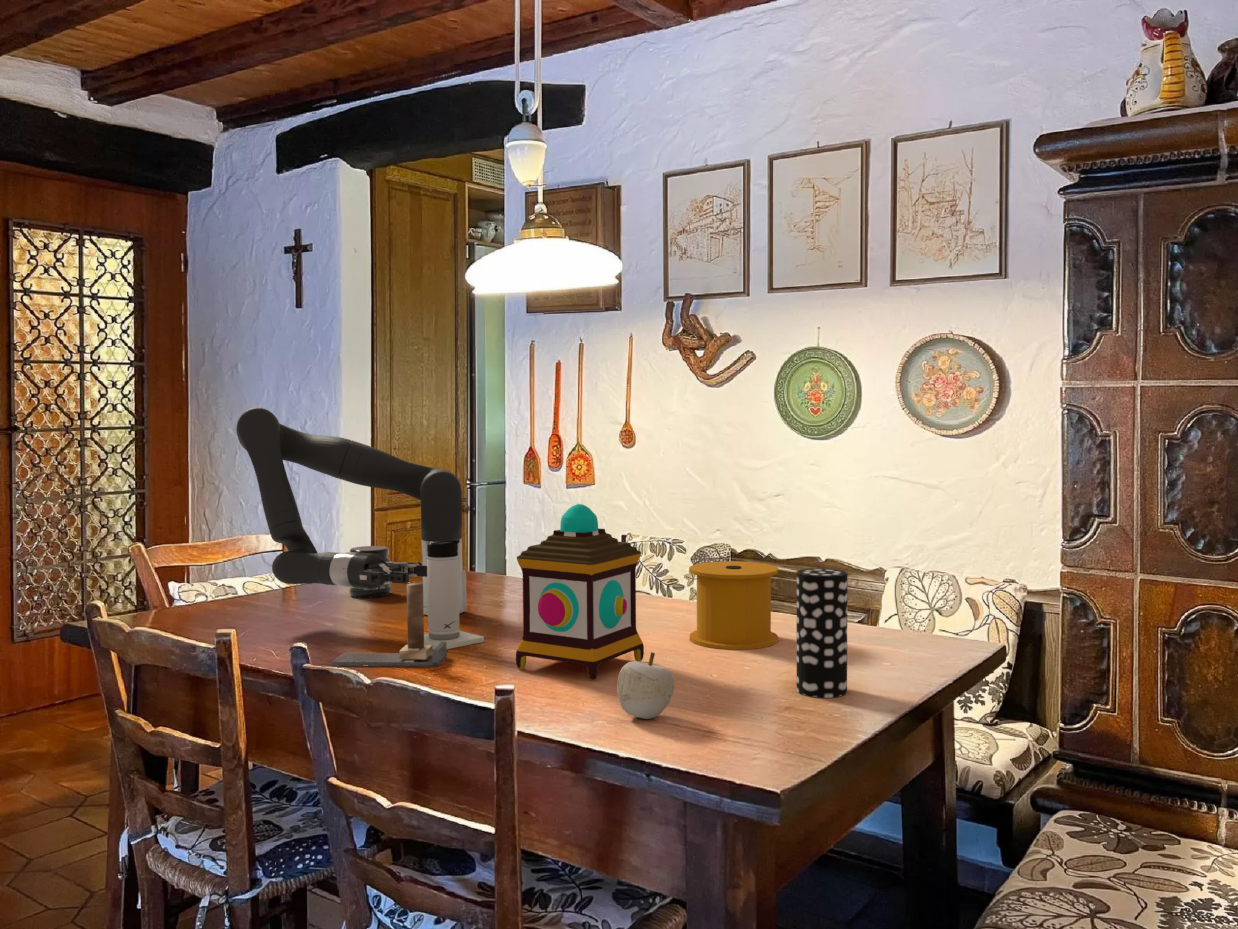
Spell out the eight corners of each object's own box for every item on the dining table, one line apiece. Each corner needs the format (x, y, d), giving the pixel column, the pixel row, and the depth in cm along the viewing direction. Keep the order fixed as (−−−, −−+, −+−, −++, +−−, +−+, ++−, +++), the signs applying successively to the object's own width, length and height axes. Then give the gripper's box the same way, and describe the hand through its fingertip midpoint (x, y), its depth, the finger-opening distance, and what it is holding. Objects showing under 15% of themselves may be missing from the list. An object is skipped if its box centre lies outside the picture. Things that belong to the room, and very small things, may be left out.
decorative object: (608, 722, 159) (608, 657, 158) (628, 707, 167) (628, 645, 167) (664, 728, 156) (663, 662, 155) (681, 712, 164) (681, 649, 163)
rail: (331, 666, 195) (331, 650, 195) (343, 656, 202) (343, 641, 202) (438, 666, 194) (438, 650, 193) (446, 657, 201) (446, 642, 200)
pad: (451, 633, 222) (451, 628, 222) (483, 641, 214) (483, 636, 214) (407, 642, 214) (407, 637, 214) (439, 650, 206) (439, 645, 206)
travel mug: (454, 641, 210) (453, 541, 209) (423, 639, 211) (421, 541, 210) (465, 634, 216) (464, 537, 215) (435, 633, 218) (433, 537, 216)
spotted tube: (791, 685, 179) (791, 568, 178) (838, 683, 180) (839, 567, 179) (803, 698, 171) (803, 576, 170) (853, 697, 172) (854, 575, 171)
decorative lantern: (595, 685, 180) (594, 511, 179) (504, 670, 191) (502, 506, 189) (654, 660, 197) (653, 501, 195) (567, 648, 208) (565, 497, 206)
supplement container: (358, 591, 274) (357, 545, 273) (397, 591, 272) (396, 545, 271) (342, 598, 263) (341, 550, 262) (382, 599, 262) (381, 551, 261)
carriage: (399, 659, 195) (398, 586, 194) (406, 652, 200) (405, 582, 199) (426, 659, 195) (424, 586, 194) (432, 653, 200) (431, 582, 199)
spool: (678, 646, 209) (678, 571, 208) (702, 627, 226) (702, 558, 225) (767, 652, 203) (767, 575, 202) (785, 633, 220) (786, 562, 219)
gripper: (334, 557, 216) (399, 561, 209) (377, 548, 229) (440, 552, 222) (335, 593, 216) (400, 599, 210) (378, 582, 229) (440, 587, 222)
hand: (420, 574), depth 216 cm, fingers open, 8 cm apart
